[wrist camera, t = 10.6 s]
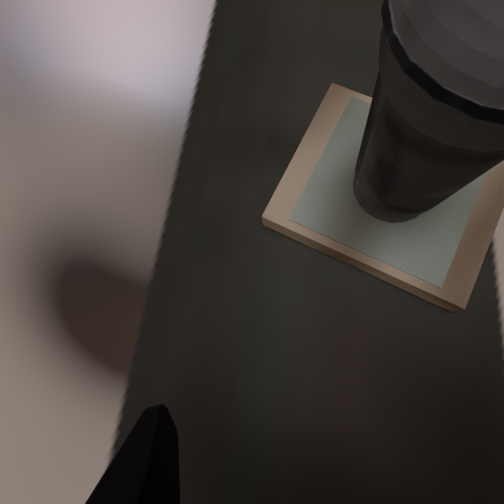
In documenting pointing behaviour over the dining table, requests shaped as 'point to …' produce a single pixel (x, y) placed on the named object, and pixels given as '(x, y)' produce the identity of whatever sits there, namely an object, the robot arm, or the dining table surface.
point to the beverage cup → (432, 105)
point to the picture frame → (376, 231)
